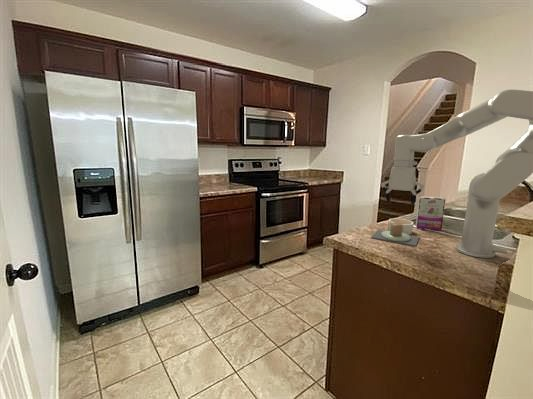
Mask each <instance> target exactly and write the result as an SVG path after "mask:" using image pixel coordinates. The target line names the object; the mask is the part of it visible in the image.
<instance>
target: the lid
mask: <svg viewBox="0 0 533 399" xmlns="http://www.w3.org/2000/svg"><path fill="white" fill-rule="evenodd" d="M402 230H403V225H402V224H399V223H391V227H390V231H388V230H383V231H384V232H382V234H381V236H382V237H383V238H385V239H388V240H392V241H398V242H405V241H409V240H410V236H409V235H410V234H409V235H408V234H406V233H402Z"/></svg>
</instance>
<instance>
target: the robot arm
mask: <svg viewBox="0 0 533 399" xmlns="http://www.w3.org/2000/svg"><path fill="white" fill-rule="evenodd" d="M506 118H515V119H520V120H521V119H523V120H528V122H529V125H528V129H527V130H526V131H525V133H523V135H522V136H521V137H519V139H518V140H516V141H515V142H513V144H512V145H511V146H510V147H508V148H507V149H506V150H505V151H504V152H502V153H501V154H500V155H499V156H498V157H497V158H496V159H495V164H494V165H493V166H491V167H490V168H489V169H488V170H487V171H486V172H482V173H479V174H476V175H475V176H474V177H473V178H472V179H471V181H470V182H469V186H468V193H467V194H468V195H467V204H466V210H465V215H464V216H465V217H464V220H463V221H464V222H463V228H462V235H461V240H460V243H458V244H455V250H456V251H457V252H459V253H462V254H464V255H467V256H470V257H474V258H481V259H491V258H494V257H496V253H500V254H504V255H507V254H508V248H504V247H503V246H499V245H498V246H497V245H495V244H493V238H494V234H495V228H496V225H497V224H496V223H497V218H498V215H499V214H498V213H499V208H500V200H501V199H503V198H504V197H506V196H507V195H509V193H511V192H512V191H513V190H515V189H516V188H517V187H518V186H520V185H521V184H522V183H523V182H524V181H526V180H527V179H528V178H530V176H531V175H532V174H533V91H531V90H523V89H505V90H502V91H501V92H499V93H497V94H495V95H494V96H493V97H491V98H489V99H487V100H485V101H484V102H481V103H479V104H477V105H475V106H474V107H472V108H470V109H467V110H465V111H463V112H461V113H459V114H458V115H456V116H453V118H452V119H450V120H449V121H448V122H446V123H444V124H442V125H441V126H439V127H436V128H435V129H433V130H431V131H429V132H427V133H426V132H425V133H420V134H419V133H418V134H400V135H397V136H396V137H395V142H394V154H393V156H394V157H393V166H392V167H391V170H390V174H389V179H388V180H385V181H383V182H381V183H380V185H381V188H382V190H383V191H384V192H385V194H386V196H385V200H387V203H390V202H391V196H392V193H391V191H392V190H393V191H404V192H405V191H407V192H409V191H410V192H411V193H412V195H411V205H414V204H415V203H416V202H417V195H418V194H420V193H421V192H422V190H423V189H424V188H425V185H424V184H423V183H421V182H420V181H417V179H416V177H417V176H416V174H417V173H416V167H415V166H417V165H418V161H415V159H414V158H415V152H418V153H428V152H431V151H433V150H436V149H437V148H439V147H441V146H444V145H446V144H448V143H450V142H453V141H455V140H457V139H460V138H463V137H466V136H468V135H471V134H473V133H474V132H477V131H479V130H482V129H483V128H485V127H488V126H491V125H492V124H494V123H497V122H500V121H501V120H504V119H506ZM387 184H388V187H387V186H386V185H387ZM416 186H418V187H419V188H418V189H417V190H415V188H416Z"/></svg>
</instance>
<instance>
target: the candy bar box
mask: <svg viewBox="0 0 533 399" xmlns="http://www.w3.org/2000/svg"><path fill="white" fill-rule="evenodd" d="M445 204H446V198H444V197H443V196H442V197H441V196H428V195H427V196H425V195H424V196H423V195H418V200H417V210H416V219H415V227H416V229H419V228H420V230H428V229H430V231H431V230H432V231H440V232H441V231H442V228H443V220H444V213H445Z"/></svg>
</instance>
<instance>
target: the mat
mask: <svg viewBox="0 0 533 399" xmlns="http://www.w3.org/2000/svg"><path fill="white" fill-rule="evenodd" d="M384 231H385V230H380V229H377V230H376V231H375V232H374V233H373V234H372V236H371V239H373V240H379V241H383V242H384V241H385V242H389V243H394V244H398V245H404V246H410V247H414V248H416V247H417V246H418V245H417V244H418V242H419V240H418V239H420V236H417V235H416V236H415V235H412V234H409V236H410V240H409V241H405V242H398V241H392V240H388V239H385V238H383V237H382V236H381V234H382V232H384Z"/></svg>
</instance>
